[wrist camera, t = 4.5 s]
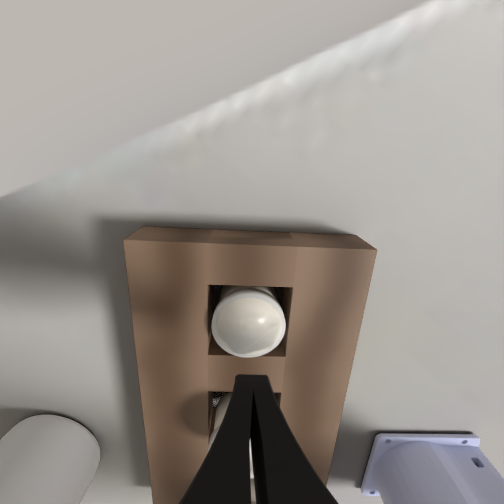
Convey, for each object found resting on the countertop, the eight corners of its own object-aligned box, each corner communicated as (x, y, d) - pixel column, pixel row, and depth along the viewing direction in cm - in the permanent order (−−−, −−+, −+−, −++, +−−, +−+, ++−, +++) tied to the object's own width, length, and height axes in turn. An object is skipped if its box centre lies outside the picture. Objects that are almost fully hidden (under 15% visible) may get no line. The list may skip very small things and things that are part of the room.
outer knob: (281, 272, 18) (289, 295, 15) (276, 327, 20) (282, 358, 17) (216, 270, 18) (211, 293, 15) (216, 326, 20) (211, 356, 17)
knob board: (356, 235, 18) (377, 250, 15) (309, 488, 26) (316, 528, 24) (142, 226, 17) (123, 239, 14) (165, 488, 26) (156, 529, 23)
